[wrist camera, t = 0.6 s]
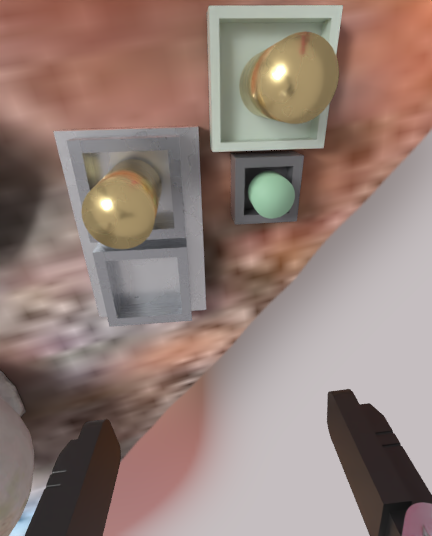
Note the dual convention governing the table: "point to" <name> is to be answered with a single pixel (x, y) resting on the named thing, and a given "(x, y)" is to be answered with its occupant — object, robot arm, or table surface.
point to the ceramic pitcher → (13, 457)
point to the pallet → (164, 230)
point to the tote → (237, 56)
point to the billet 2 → (291, 79)
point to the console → (252, 165)
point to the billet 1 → (123, 205)
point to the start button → (271, 194)
